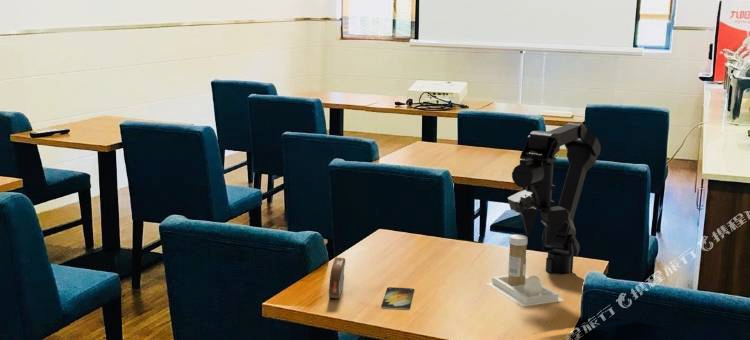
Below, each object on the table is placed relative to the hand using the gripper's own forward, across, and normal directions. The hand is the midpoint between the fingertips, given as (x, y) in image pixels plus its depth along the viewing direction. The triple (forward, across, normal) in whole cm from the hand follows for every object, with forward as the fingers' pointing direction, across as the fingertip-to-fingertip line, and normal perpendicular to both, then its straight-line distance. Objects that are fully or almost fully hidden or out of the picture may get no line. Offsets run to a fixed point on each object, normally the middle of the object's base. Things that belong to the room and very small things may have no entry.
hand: (537, 239), depth 219 cm
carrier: (+13, +4, -6) cm, 15 cm away
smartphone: (+14, -5, -37) cm, 40 cm away
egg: (+12, +8, -6) cm, 16 cm away
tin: (+13, -14, -50) cm, 54 cm away
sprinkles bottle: (+12, 0, -6) cm, 14 cm away
